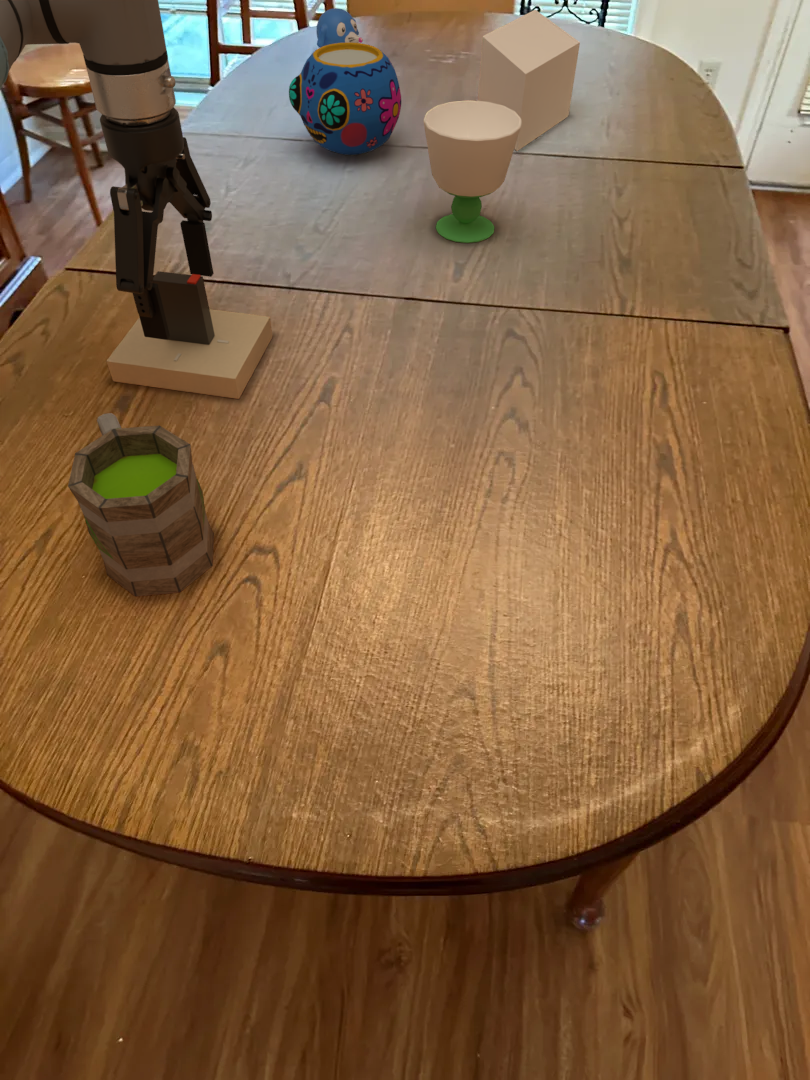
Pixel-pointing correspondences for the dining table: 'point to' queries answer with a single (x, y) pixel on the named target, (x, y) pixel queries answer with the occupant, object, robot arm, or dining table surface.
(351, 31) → the blue mole toy
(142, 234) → the robot arm
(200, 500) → the mug
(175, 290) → the dark brown upright block
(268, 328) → the tan rectangular slab
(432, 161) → the cup
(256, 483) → the dining table surface
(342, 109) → the ceramic pot
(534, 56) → the block
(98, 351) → the dining table surface
